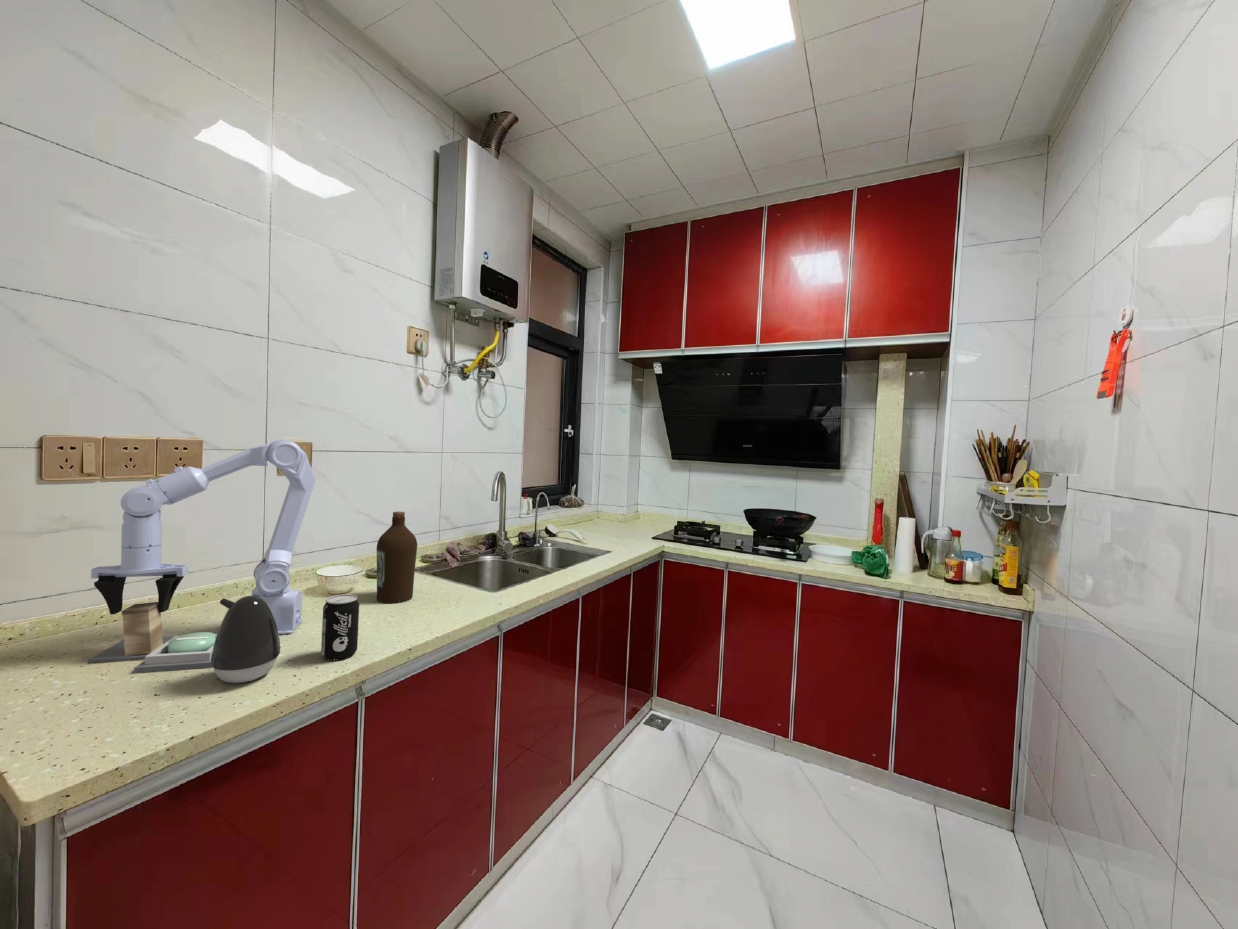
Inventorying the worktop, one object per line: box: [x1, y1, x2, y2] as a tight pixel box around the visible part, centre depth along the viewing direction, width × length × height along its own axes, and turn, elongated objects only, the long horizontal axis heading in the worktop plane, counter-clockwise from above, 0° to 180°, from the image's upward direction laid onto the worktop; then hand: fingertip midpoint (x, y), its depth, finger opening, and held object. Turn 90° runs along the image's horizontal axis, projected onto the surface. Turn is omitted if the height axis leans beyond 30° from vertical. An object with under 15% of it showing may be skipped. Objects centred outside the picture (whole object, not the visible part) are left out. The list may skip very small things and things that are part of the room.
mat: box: [87, 636, 175, 664], centre depth 96 cm, size 10×10×1 cm
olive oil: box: [376, 511, 418, 604], centre depth 136 cm, size 11×11×25 cm
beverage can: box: [320, 593, 360, 661], centre depth 100 cm, size 7×7×12 cm
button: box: [168, 631, 216, 653], centre depth 95 cm, size 7×7×3 cm
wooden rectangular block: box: [121, 601, 163, 656], centre depth 95 cm, size 4×4×9 cm
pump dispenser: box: [211, 595, 281, 684], centre depth 89 cm, size 10×10×15 cm
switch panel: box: [133, 633, 217, 674], centre depth 95 cm, size 12×12×2 cm
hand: (140, 611), depth 96 cm, fingers open, 7 cm apart
